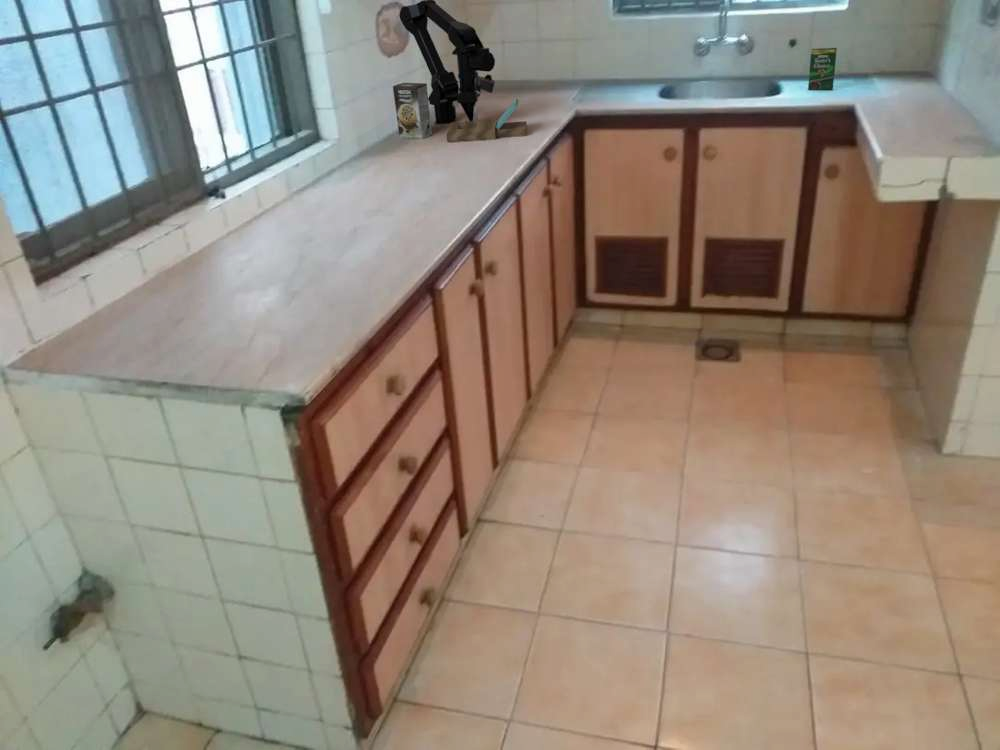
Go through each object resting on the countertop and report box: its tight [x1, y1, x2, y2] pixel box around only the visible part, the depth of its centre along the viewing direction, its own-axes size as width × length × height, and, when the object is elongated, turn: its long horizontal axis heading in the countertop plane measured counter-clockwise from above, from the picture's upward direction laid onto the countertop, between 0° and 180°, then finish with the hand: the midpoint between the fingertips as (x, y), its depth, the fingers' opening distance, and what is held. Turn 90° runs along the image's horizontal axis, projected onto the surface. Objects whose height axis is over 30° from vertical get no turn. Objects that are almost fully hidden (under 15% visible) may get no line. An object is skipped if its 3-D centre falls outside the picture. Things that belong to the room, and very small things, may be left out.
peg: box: [464, 102, 479, 121], centre depth 267 cm, size 4×4×8 cm
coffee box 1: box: [392, 82, 433, 140], centre depth 258 cm, size 9×6×16 cm
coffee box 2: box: [807, 47, 837, 91], centre depth 272 cm, size 8×3×13 cm, turn 62°
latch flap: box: [496, 98, 519, 129], centre depth 253 cm, size 9×10×1 cm
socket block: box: [446, 118, 528, 143], centre depth 256 cm, size 24×14×3 cm, turn 87°
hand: (471, 119), depth 268 cm, fingers closed on peg, 4 cm apart
